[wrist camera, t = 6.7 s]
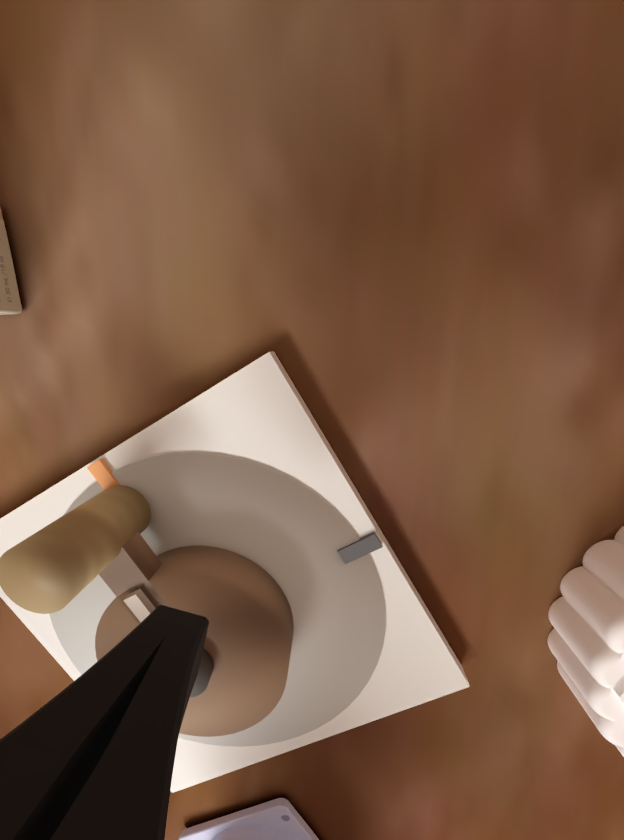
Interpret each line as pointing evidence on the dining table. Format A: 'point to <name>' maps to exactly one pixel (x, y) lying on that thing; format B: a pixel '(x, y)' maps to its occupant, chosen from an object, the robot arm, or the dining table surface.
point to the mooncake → (594, 635)
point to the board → (262, 563)
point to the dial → (164, 602)
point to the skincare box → (7, 276)
